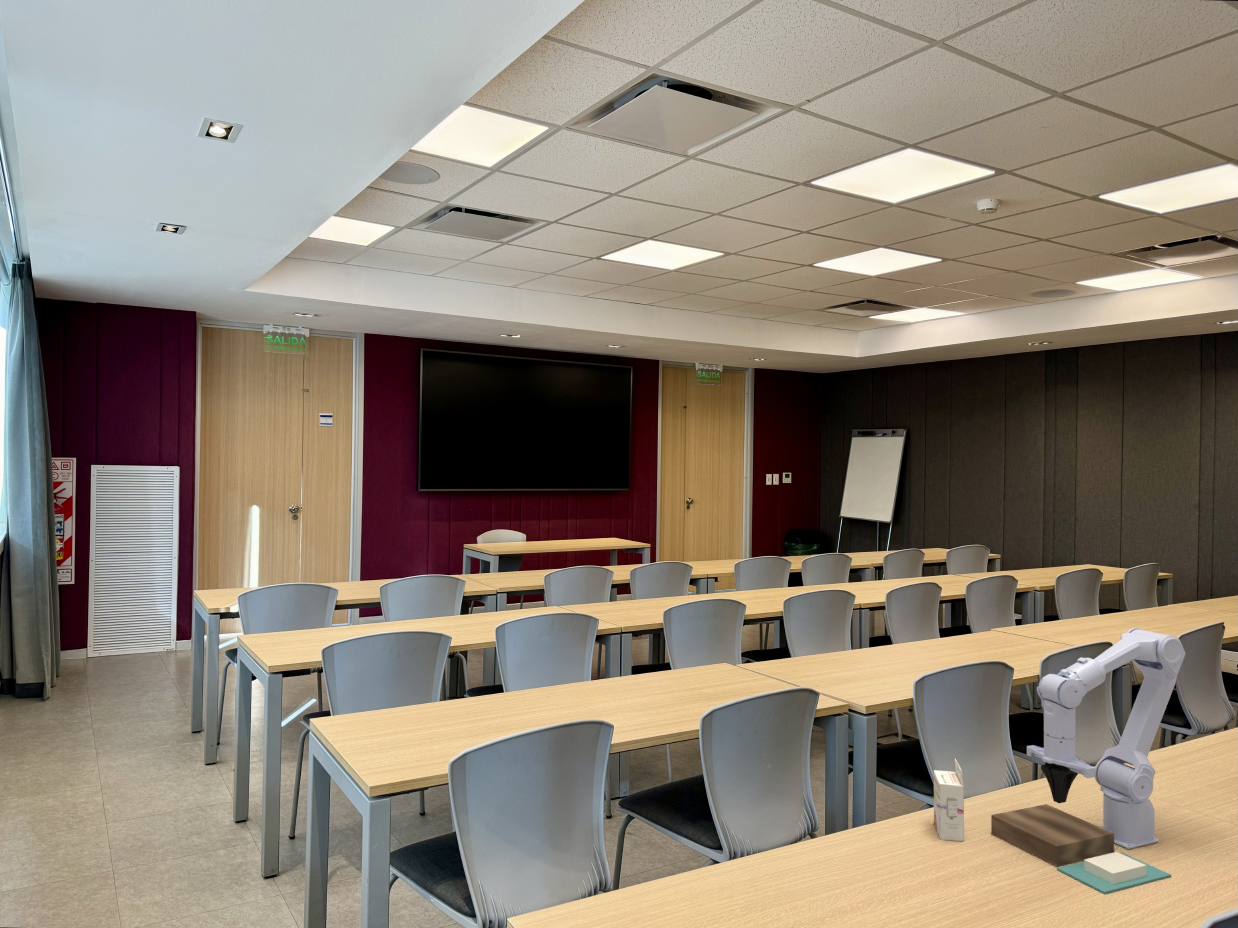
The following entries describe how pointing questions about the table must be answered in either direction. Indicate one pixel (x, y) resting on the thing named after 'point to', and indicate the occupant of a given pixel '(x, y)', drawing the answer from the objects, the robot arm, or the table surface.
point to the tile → (1115, 867)
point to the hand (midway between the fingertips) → (1059, 801)
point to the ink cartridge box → (949, 804)
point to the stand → (1052, 834)
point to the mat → (1106, 887)
